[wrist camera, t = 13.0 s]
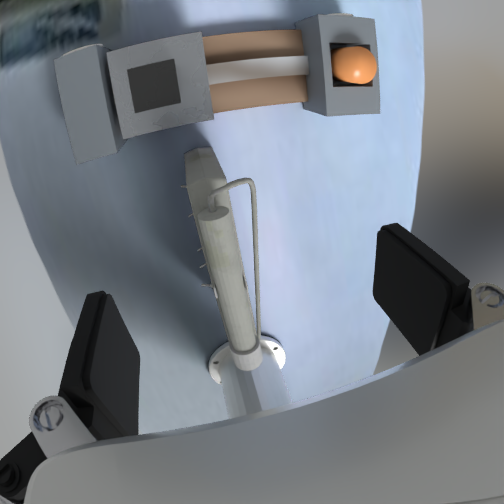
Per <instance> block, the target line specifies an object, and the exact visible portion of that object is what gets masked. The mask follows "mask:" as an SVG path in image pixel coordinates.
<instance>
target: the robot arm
mask: <svg viewBox="0 0 504 504" xmlns="http://www.w3.org/2000/svg"><path fill="white" fill-rule="evenodd" d="M469 282H470V280H469V279H467V278H466V277H465V276H464V275H463V274H461V273H460V272H459V271H458V270H457V269H455V268H454V267H453V266H452V265H451V264H450V263H448V262H447V261H446V260H444V259H443V258H442V257H441V256H440V255H438V254H437V253H436V252H435V251H433V250H432V249H431V248H429V247H428V246H427V245H426V244H425V243H423V242H422V241H421V240H419V239H418V238H416V237H415V236H414V235H413V234H412V233H410V232H409V231H408V230H406V229H405V228H404V227H402V226H401V225H399V224H398V223H393V224H389V225H384V226H382V227H381V229H380V231H378V233H377V245H376V260H375V272H374V283H373V296H374V299H375V301H376V302H377V303H378V304H379V305H380V307H381V308H382V309H383V310H384V312H385V313H386V314H387V315H388V317H389V318H390V319H391V320H392V321H393V323H394V324H395V325H396V326H397V328H398V329H399V330H400V331H401V333H402V334H403V335H404V337H405V338H406V339H407V340H408V342H409V343H410V344H411V345H412V347H413V348H414V349H415V351H416V352H417V353H418V354H419V356H418V357H416V358H414V359H412V360H409V361H407V362H405V363H402V364H400V365H398V366H395V367H393V368H391V369H388V370H386V371H383V372H381V373H378V374H376V375H373V376H370V377H368V378H365V379H362V380H360V381H357V382H354V383H352V384H349V385H346V386H343V387H340V388H338V389H335V390H332V391H329V392H326V393H323V394H320V395H316V396H313V397H310V398H307V399H304V400H300V401H297V402H294V403H293V401H292V398H291V396H290V393H289V390H288V388H287V385H286V382H285V380H284V377H283V374H282V371H281V369H282V367H283V365H284V363H285V358H286V356H285V352H284V349H283V347H282V345H281V344H280V343H279V342H278V341H276V340H275V339H273V338H270V337H267V336H262V335H261V338H260V346H261V351H262V356H263V360H262V363H261V364H260V366H259V367H257V368H256V369H253V370H249V371H245V370H241V369H239V368H238V367H236V365H235V363H234V360H233V357H232V354H231V351H230V347H229V342H226V343H225V344H223V345H222V346H220V347H219V348H218V349H217V350H216V351H215V352H214V353H213V354H212V356H211V358H210V360H209V372H210V375H211V377H212V378H213V380H214V381H216V382H217V383H219V384H221V385H222V388H223V393H224V398H225V402H226V407H227V412H228V416H229V419H227V420H223V421H218V422H213V423H208V424H203V425H198V426H192V427H186V428H180V429H175V430H169V431H163V432H156V433H149V434H142V435H138V408H139V374H140V355H139V351H138V349H137V347H136V345H135V343H134V341H133V339H132V337H131V335H130V333H129V331H128V329H127V327H126V325H125V323H124V321H123V319H122V317H121V315H120V313H119V311H118V309H117V306H116V304H115V302H114V300H113V298H112V296H111V295H110V294H106V293H105V292H104V291H99V292H94V293H90V294H87V296H86V299H85V302H84V305H83V308H82V311H81V314H80V318H79V321H78V324H77V327H76V331H75V334H74V337H73V340H72V342H71V346H70V349H69V353H68V357H67V360H66V364H65V369H64V373H63V376H62V380H61V384H60V389H59V393H58V396H49V397H45V398H43V399H42V400H40V401H39V402H38V403H37V404H36V405H35V406H34V408H33V409H32V411H31V414H30V417H29V425H30V428H31V430H32V432H31V433H30V434H28V435H27V436H26V437H25V438H24V439H23V440H22V441H21V442H20V443H19V444H17V445H16V446H15V447H14V448H13V449H12V450H11V451H10V452H9V453H8V454H6V455H5V456H4V457H3V458H2V459H1V460H0V504H504V290H502V289H501V288H500V287H498V286H496V285H494V284H490V283H479V284H476V285H475V286H474V287H473V288H472V290H471V289H469V288H468V286H469Z"/></svg>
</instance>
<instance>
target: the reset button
mask: <svg viewBox="0 0 504 504" xmlns="http://www.w3.org/2000/svg"><path fill="white" fill-rule="evenodd" d="M330 56H331V67H332V79H334V80H336V81H341V82H350V83H358V84H365V83H368V82H370V81H371V80H372V79H373V78H374V76H375V74H376V71H377V63H376V60H375V57H374V56H373V54H372V53H371V52H370V51H369V50H368V49H366V48H364V47H359V46H357V47H343V48H334V49H332V50H330Z"/></svg>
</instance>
